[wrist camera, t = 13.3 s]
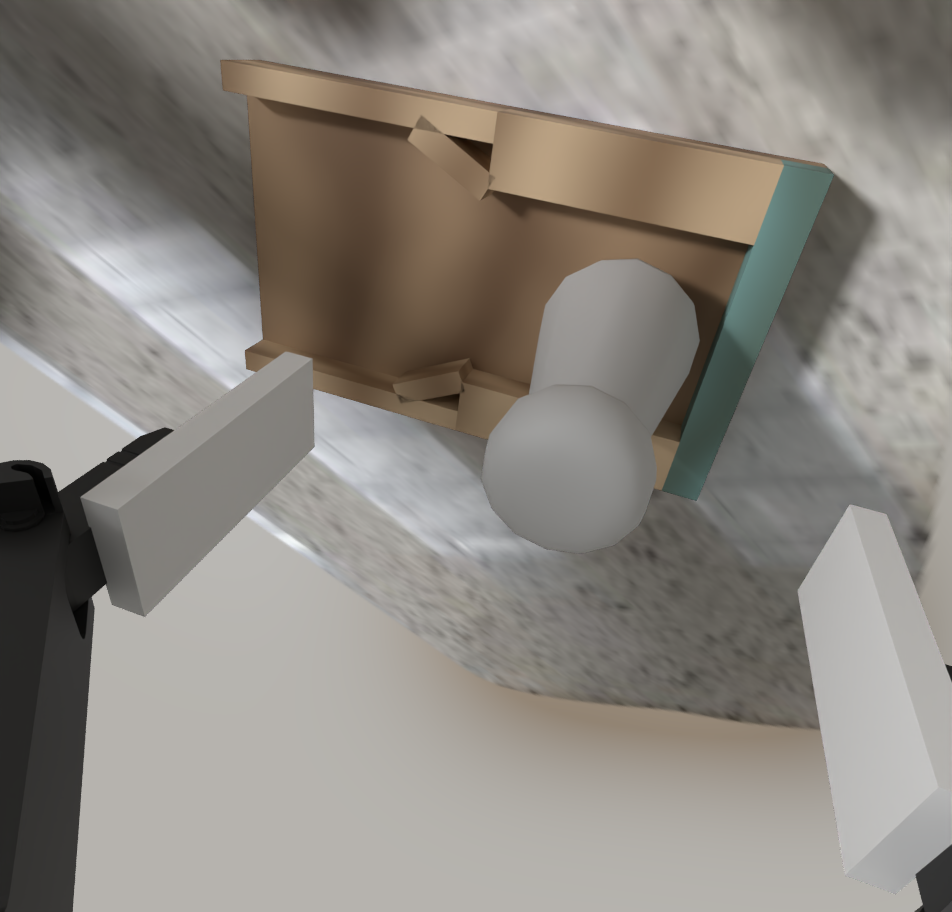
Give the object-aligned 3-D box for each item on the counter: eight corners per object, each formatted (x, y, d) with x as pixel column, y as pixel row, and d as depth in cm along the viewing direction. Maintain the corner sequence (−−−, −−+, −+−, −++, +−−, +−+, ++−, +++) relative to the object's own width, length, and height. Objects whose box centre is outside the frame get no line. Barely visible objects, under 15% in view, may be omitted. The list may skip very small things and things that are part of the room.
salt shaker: (538, 262, 25) (409, 405, 15) (687, 224, 23) (658, 363, 12) (572, 393, 28) (482, 595, 17) (710, 371, 25) (702, 590, 15)
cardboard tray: (275, 350, 33) (246, 369, 31) (259, 60, 26) (220, 59, 24) (698, 470, 29) (696, 501, 27) (824, 163, 21) (833, 174, 19)
